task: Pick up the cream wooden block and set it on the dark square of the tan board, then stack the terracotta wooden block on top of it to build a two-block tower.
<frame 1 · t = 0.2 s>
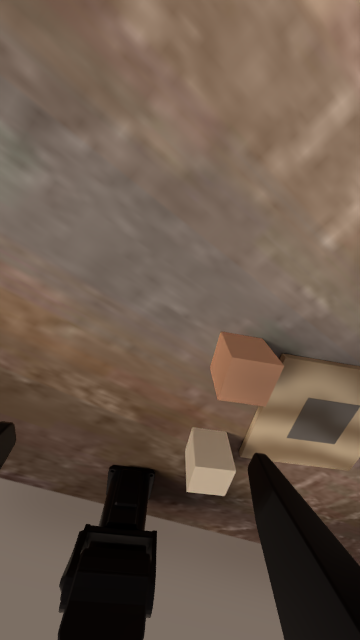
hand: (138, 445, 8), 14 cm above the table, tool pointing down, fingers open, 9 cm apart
tan board: (317, 416, 27), on the table
terracotta block: (235, 353, 23), on the table
cream block: (205, 441, 28), on the table
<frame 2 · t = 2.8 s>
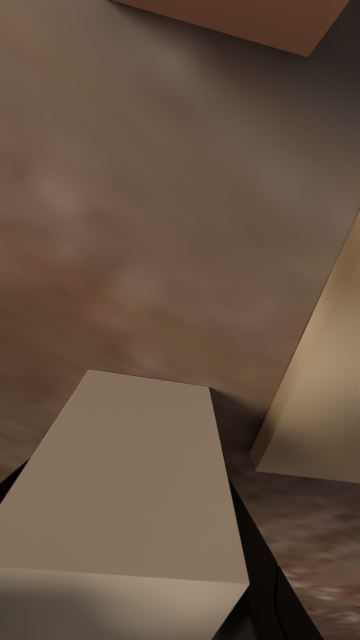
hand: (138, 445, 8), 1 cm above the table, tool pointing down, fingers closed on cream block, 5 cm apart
cream block: (142, 422, 9), on the table, touching gripper
when the fingers open (3 cm above the table, at t = 6.7 s): cream block drops 1 cm, resting on tan board.
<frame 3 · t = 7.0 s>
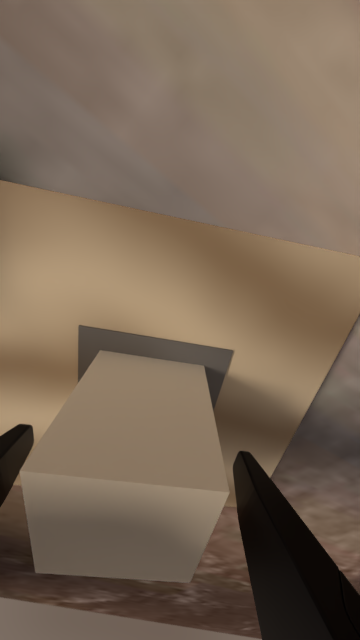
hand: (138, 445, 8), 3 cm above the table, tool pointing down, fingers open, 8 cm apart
tan board: (150, 386, 11), on the table
cream block: (146, 398, 10), point 1 cm above the table, touching tan board
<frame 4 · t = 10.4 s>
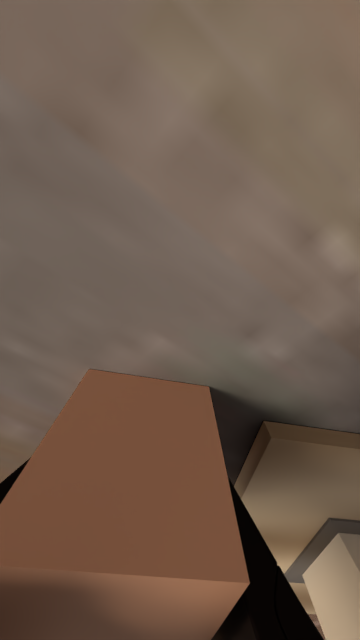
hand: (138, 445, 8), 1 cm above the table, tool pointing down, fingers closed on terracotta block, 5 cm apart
tan board: (346, 537, 12), on the table
terracotta block: (142, 422, 9), on the table, touching gripper
cream block: (357, 558, 12), point 1 cm above the table, touching tan board
when the fingers open (8 cm above the table, at t = 13.7 s): terracotta block drops 1 cm, resting on cream block.
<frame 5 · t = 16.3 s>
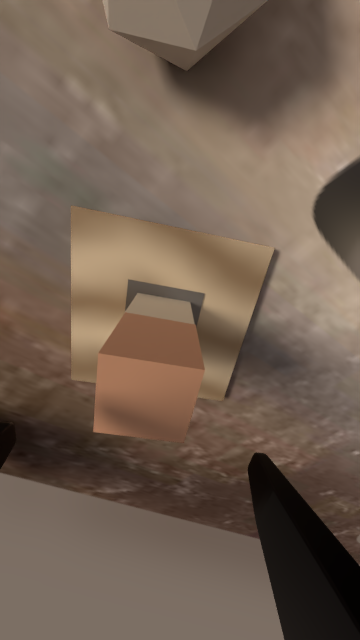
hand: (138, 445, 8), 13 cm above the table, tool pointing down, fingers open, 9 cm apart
tan board: (161, 318, 20), on the table
die: (180, 7, 13), on the table
terracotta block: (155, 349, 14), point 6 cm above the table, touching cream block
cream block: (160, 321, 19), point 1 cm above the table, touching tan board, terracotta block
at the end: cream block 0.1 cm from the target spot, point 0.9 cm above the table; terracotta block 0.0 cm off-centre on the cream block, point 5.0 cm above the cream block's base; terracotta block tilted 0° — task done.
